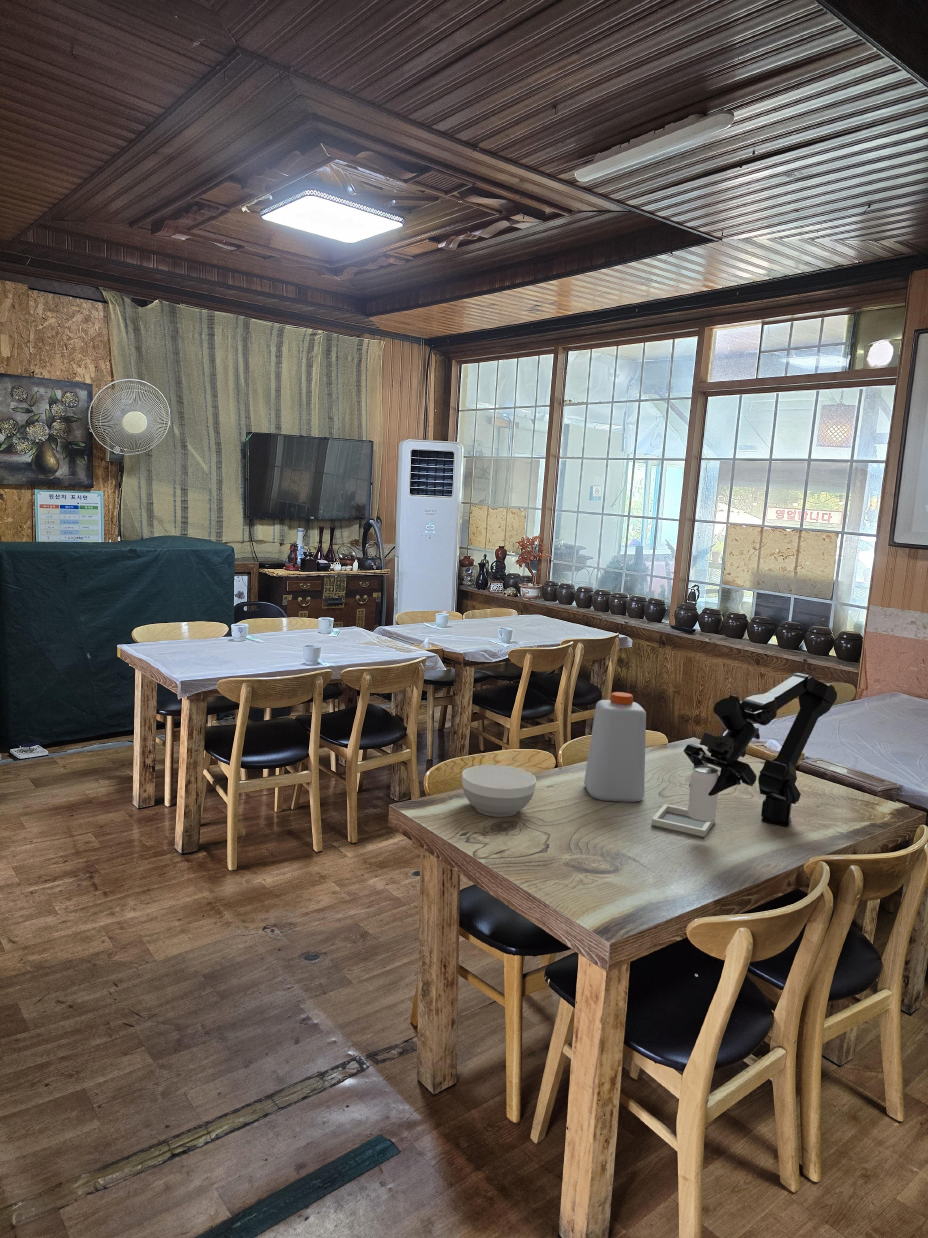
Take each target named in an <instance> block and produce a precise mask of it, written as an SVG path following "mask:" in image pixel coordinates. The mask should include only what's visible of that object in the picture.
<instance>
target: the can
mask: <svg viewBox="0 0 928 1238" xmlns="http://www.w3.org/2000/svg"><path fill="white" fill-rule="evenodd" d="M693 768H694V770H693V769H692V771H691V773H690V781H691V782H689V785H690V787H689V795H688V806H687V807H688V808H687V809H688V815H689V817H690V818H692V819H694V820H696V821H702V822H710V821H713V820H714V819H715V820H716V816H717V808H718V807H717V806H718V797H719V796H718V794H719V793H717V794H715V795H711V796H709V795H708V793H709V792H710V791H711V790H712V788H713V787H714V785H715V783H716V781H717V778H718V777H719V775H720V774H719V773H718V772H719V770H718V769H717V768H715V767H714V766H709V765H708V766H703V765H700V766H695V767H694V766H693Z"/></svg>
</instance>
